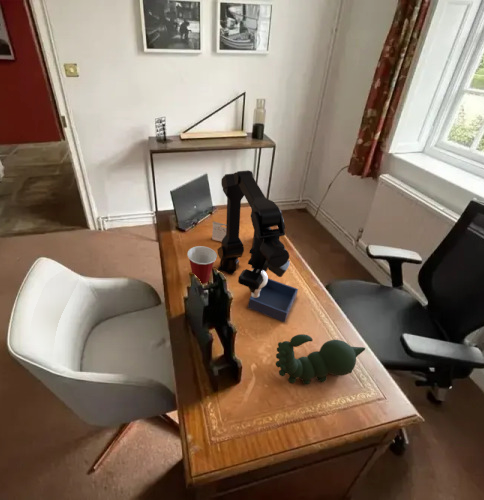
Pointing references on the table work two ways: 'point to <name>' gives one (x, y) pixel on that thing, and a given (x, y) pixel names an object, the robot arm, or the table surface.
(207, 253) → the plastic cup
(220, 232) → the ink cartridge box
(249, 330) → the table surface
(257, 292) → the lightbulb
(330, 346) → the toy figurine
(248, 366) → the table surface
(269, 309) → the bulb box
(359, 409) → the table surface
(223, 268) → the robot arm
